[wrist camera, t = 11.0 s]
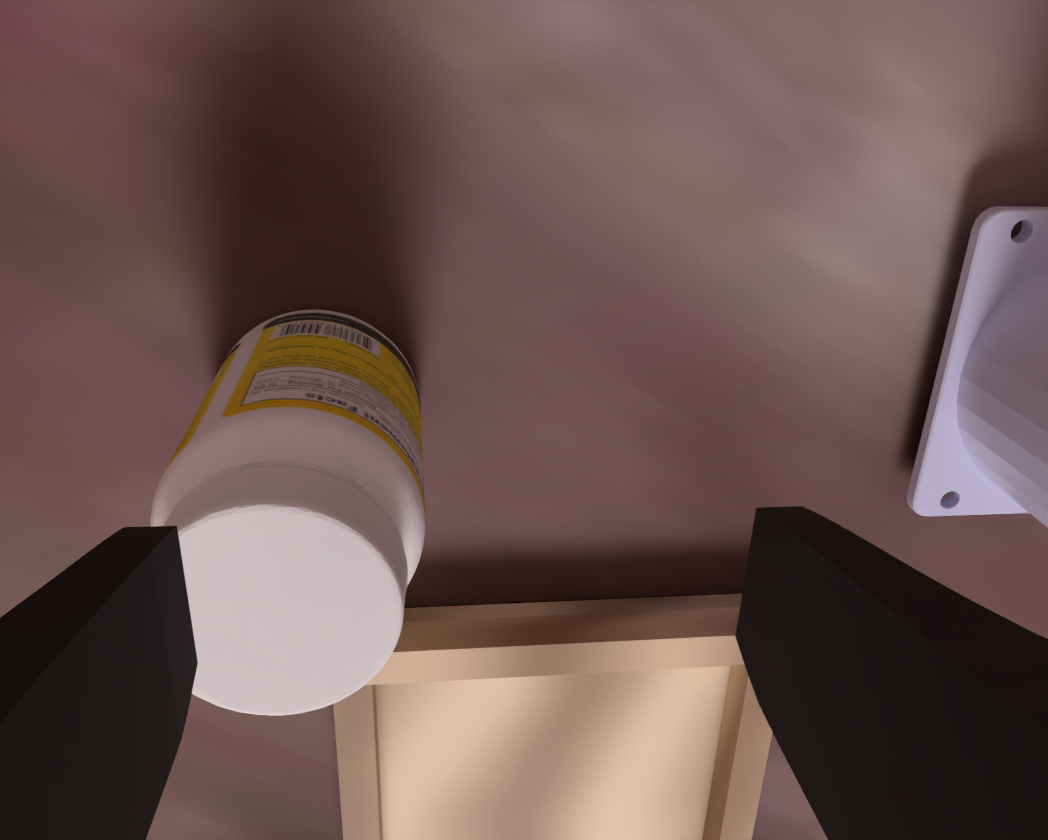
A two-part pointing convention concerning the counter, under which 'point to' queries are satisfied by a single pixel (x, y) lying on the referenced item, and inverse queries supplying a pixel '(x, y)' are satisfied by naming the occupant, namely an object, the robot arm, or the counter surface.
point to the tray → (557, 725)
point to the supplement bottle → (298, 513)
